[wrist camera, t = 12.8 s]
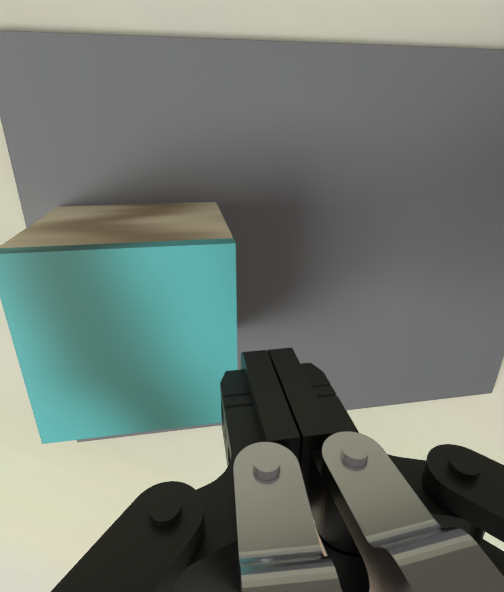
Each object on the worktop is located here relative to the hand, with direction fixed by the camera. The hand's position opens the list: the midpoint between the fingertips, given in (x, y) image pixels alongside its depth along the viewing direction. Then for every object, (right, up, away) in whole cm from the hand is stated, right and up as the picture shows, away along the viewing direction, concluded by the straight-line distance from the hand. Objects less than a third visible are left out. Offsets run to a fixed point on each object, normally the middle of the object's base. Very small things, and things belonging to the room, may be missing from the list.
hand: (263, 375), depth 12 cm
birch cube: (-4, +1, +1) cm, 5 cm away
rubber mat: (+3, +4, +9) cm, 11 cm away
